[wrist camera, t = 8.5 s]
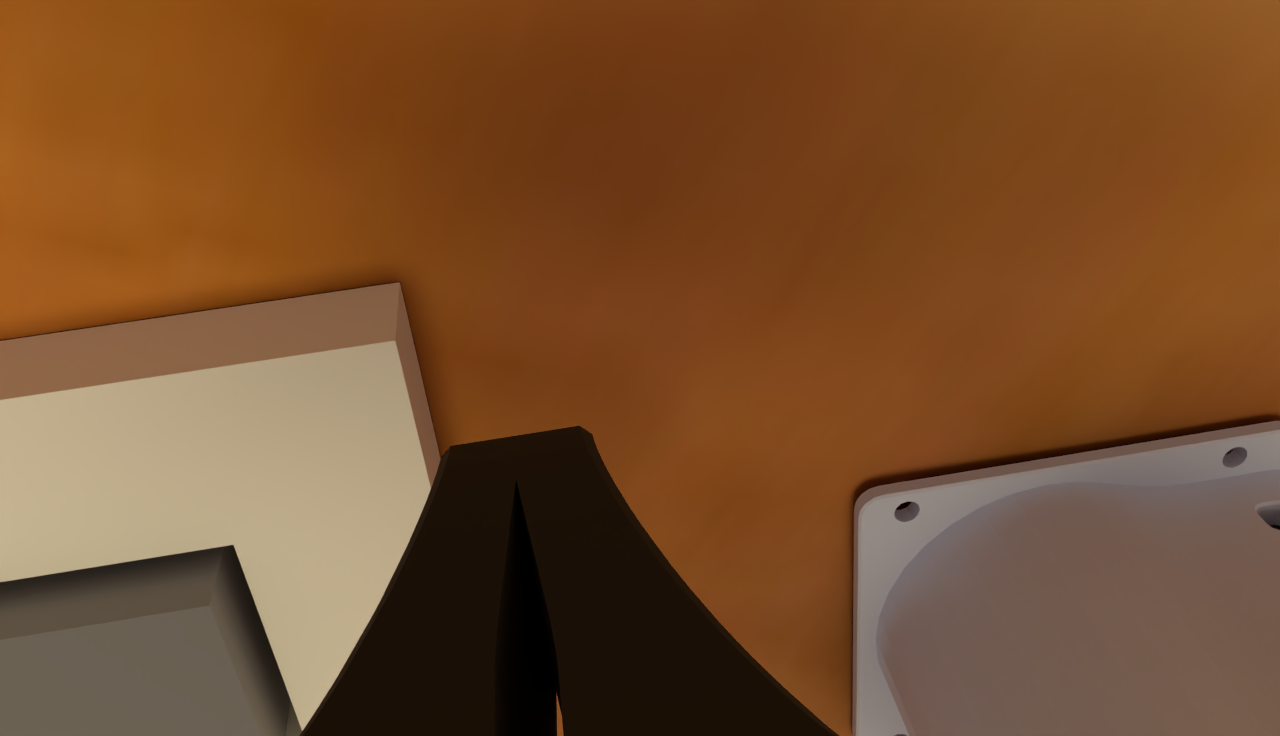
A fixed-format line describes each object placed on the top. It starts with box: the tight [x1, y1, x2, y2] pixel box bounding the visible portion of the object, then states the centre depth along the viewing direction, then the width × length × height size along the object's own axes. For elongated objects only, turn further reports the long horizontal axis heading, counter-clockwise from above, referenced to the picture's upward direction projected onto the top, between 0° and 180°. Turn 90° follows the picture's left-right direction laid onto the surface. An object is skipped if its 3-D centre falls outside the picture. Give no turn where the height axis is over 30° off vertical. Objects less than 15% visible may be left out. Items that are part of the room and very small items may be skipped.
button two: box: [0, 545, 291, 736], centre depth 21 cm, size 4×4×3 cm
